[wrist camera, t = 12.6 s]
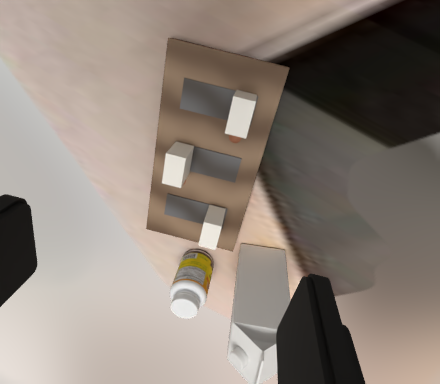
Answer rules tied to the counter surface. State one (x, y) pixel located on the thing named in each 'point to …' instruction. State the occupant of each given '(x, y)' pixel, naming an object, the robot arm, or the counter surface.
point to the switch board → (210, 137)
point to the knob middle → (177, 164)
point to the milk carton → (257, 311)
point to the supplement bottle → (191, 283)
